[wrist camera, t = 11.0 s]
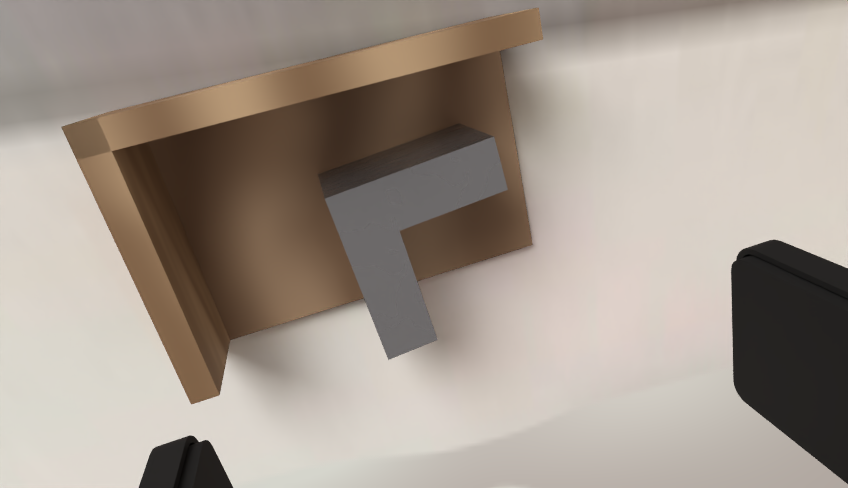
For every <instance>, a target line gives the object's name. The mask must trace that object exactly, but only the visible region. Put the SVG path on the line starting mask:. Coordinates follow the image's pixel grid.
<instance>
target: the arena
mask: <svg viewBox="0 0 848 488" xmlns="http://www.w3.org/2000/svg"><path fill="white" fill-rule="evenodd" d="M539 40H543V36H542V28H541V21H540V14H539V8H534V9H529V10H523V11H518V12H513V13H508V14H503V15H498V16H493V17H488V18H484V19H480V20H476V21H472V22H468V23H464V24H460V25H456V26H452V27H448V28H444V29H440V30H436V31H432V32H428V33H424V34H420V35H416V36H412V37H408V38H404V39H400V40H396V41H392V42H388V43H384V44H380V45H376V46H372V47H368V48H364V49H360V50H356V51H352V52H348V53H344V54H340V55H336V56H331V57H327V58H323V59H319V60H315V61H311V62H307V63H303V64H299V65H295V66H291V67H287V68H283V69H279V70H275V71H271V72H267V73H263V74H259V75H255V76H251V77H247V78H243V79H239V80H235V81H231V82H227V83H223V84H219V85H215V86H211V87H207V88H203V89H199V90H195V91H191V92H187V93H183V94H179V95H175V96H171V97H167V98H163V99H159V100H155V101H151V102H147V103H143V104H139V105H135V106H131V107H127V108H123V109H119V110H115V111H111V112H107V113H104V114H101V115H98V116H94V117H91V118H88V119H85V120H82V121H78V122H75V123H72V124H69V125H66V126H63V127H62V130H63V132H64V134H65V136H66V138H67V140H68V142H69V144H70V147H71V149H72V151H73V153H74V155H75V157H76V159H77V162H78V164H79V166H80V168H81V170H82V172H83V174H84V176H85V179H86V181H87V183H88V185H89V187H90V189H91V191H92V194H93V196H94V198H95V200H96V202H97V204H98V206H99V209H100V211H101V213H102V215H103V217H104V219H105V221H106V223H107V226H108V228H109V230H110V232H111V234H112V236H113V238H114V241H115V243H116V245H117V247H118V249H119V251H120V253H121V255H122V258H123V260H124V262H125V264H126V266H127V268H128V270H129V273H130V275H131V277H132V279H133V281H134V283H135V285H136V287H137V290H138V292H139V294H140V296H141V298H142V300H143V302H144V305H145V307H146V309H147V311H148V313H149V315H150V317H151V319H152V322H153V324H154V326H155V328H156V330H157V332H158V334H159V337H160V339H161V341H162V343H163V345H164V347H165V349H166V351H167V354H168V356H169V358H170V360H171V362H172V364H173V366H174V369H175V371H176V373H177V375H178V377H179V379H180V381H181V384H182V386H183V388H184V390H185V392H186V394H187V396H188V398H189V401H190V403H191V404H194V403H197V402H200V401H203V400H206V399H209V398H212V397H215V396H219V395H220V390H221V385H222V380H223V375H224V369H225V364H226V359H227V354H228V348H229V343H230V340H232V339H235V338H238V337H241V336H245V335H248V334H251V333H254V332H257V331H260V330H264V329H267V328H270V327H273V326H276V325H280V324H283V323H286V322H289V321H292V320H295V319H299V318H302V317H305V316H308V315H311V314H314V313H318V312H321V311H324V310H327V309H330V308H333V307H337V306H340V305H343V304H346V303H349V302H352V301H356V300H359V299H362V298H364V297H363V294H362V292H361V289H360V287H359V284H358V282H357V279H356V276H355V274H354V271H353V269H352V266H351V264H350V261H349V259H348V256H347V254H346V251H345V249H344V246H343V244H342V241H341V239H340V236H339V234H338V231H337V228H336V226H335V223H334V221H333V218H332V216H331V213H330V211H329V208H328V206H327V203H326V201H325V198H324V194H323V191H322V187H321V184H320V180H319V177H318V174H320V173H323V172H325V171H328V170H331V169H334V168H336V167H339V166H342V165H345V164H347V163H350V162H353V161H356V160H359V159H361V158H364V157H367V156H370V155H372V154H375V153H378V152H381V151H383V150H386V149H389V148H392V147H395V146H397V145H400V144H403V143H406V142H408V141H411V140H414V139H417V138H419V137H422V136H425V135H428V134H430V133H433V132H436V131H439V130H442V129H444V128H447V127H450V126H453V125H455V124H458V123H460V124H462V125H465V126H468V127H470V128H473V129H476V130H478V131H481V132H484V133H486V134H489V135H491V136H494V138H495V142H496V146H497V150H498V153H499V157H500V161H501V165H502V169H503V173H504V177H505V180H506V184H507V188H508V190H506V191H503V192H500V193H498V194H495V195H493V196H490V197H487V198H485V199H482V200H479V201H477V202H474V203H472V204H469V205H466V206H464V207H461V208H458V209H456V210H453V211H451V212H448V213H445V214H443V215H440V216H437V217H435V218H432V219H429V220H427V221H424V222H422V223H419V224H416V225H414V226H411V227H408V228H406V229H403V230H401V231H400V234H401V237H402V240H403V242H404V245H405V248H406V251H407V254H408V257H409V260H410V262H411V265H412V268H413V271H414V274H415V277H416V280H417V281H419V280H422V279H425V278H429V277H432V276H435V275H438V274H441V273H444V272H448V271H451V270H454V269H457V268H460V267H464V266H467V265H470V264H473V263H476V262H479V261H483V260H486V259H489V258H492V257H495V256H498V255H502V254H505V253H508V252H511V251H514V250H517V249H521V248H524V247H527V246H530V245H532V239H531V233H530V227H529V221H528V215H527V209H526V203H525V197H524V191H523V185H522V179H521V173H520V167H519V162H518V156H517V150H516V144H515V138H514V132H513V126H512V120H511V114H510V108H509V102H508V96H507V90H506V84H505V78H504V72H503V66H502V60H501V54H500V50H504V49H508V48H512V47H516V46H519V45H523V44H527V43H531V42H535V41H539Z"/></svg>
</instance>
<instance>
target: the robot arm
mask: <svg viewBox="0 0 848 488" xmlns="http://www.w3.org/2000/svg"><path fill="white" fill-rule="evenodd" d="M731 281H732V329H733V372H734V373H733V375H734V376H733V377H734V386H735V388H736V391H737V393H738V394H739V396H740V397H741V398H742V400H743V401H744V402H746V403H747V404H748V405H749V406H750V407H752V408H753V409H754V410H756V411H757V412H758V413H759V414H760V415H762V416H763V417H764V418H766V419H767V420H768V421H769V422H771V423H772V424H773V425H774V426H776V427H777V428H778V429H779V430H781V431H782V432H783V433H784V434H786V435H787V436H788V437H789V438H791V439H792V440H793V441H795V442H796V443H797V444H798V445H799V446H801V447H802V448H803V449H805V450H806V451H807V452H808V453H810V454H811V455H812V456H813V457H815V458H816V459H817V460H818V461H820V462H821V463H822V464H823V465H825V466H826V467H827V468H828V469H830V470H831V471H832V472H833V473H835V474H836V475H837V476H838V477H840V478H841V479H842V480H843V481H845V482H846V483H847V484H848V268H845V267H843V266H840V265H838V264H835V263H833V262H831V261H828V260H826V259H823V258H821V257H818V256H816V255H813V254H811V253H809V252H806V251H804V250H801V249H799V248H796V247H794V246H791V245H789V244H786V243H784V242H782V241H778V240H769V241H766V242H763V243H760V244H757V245H754V246H751V247H748V248H745V249H743V250H742V251H740V252H739V254H738V256H737V260H736V261H735V262H733V264H732V268H731ZM139 488H233V486H232V484H231V482H230V480H229V478H228V476H227V474H226V472H225V470H224V468H223V466H222V464H221V462H220V460H219V458H218V456H217V454H216V452H215V450H214V448H213V446H212V445H211V443H210V442H209V441H208V440H204V441H202V442H198V440H197V439H196V438H195V437H194V436H187V437H184V438H181V439H178V440H175V441H172V442H169V443H166V444H163V445H161V446H158V447H155V448H154V449H153V450H152V452H151V453H150V456H149V459H148V462H147V465H146V468H145V471H144V474H143V477H142V480H141V482H140V485H139Z"/></svg>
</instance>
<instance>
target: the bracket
mask: <svg viewBox="0 0 848 488" xmlns="http://www.w3.org/2000/svg"><path fill="white" fill-rule="evenodd" d="M318 177H319V180H320V184H321V187H322V191H323V194H324V198H325V201H326V203H327V206H328V208H329V211H330V213H331V216H332V218H333V221H334V223H335V226H336V228H337V231H338V234H339V236H340V239H341V241H342V244H343V246H344V249H345V251H346V254H347V256H348V259H349V261H350V264H351V266H352V269H353V271H354V274H355V276H356V279H357V282H358V284H359V287H360V289H361V292H362V294H363V297H364V299H365V302H366V304H367V307H368V309H369V312H370V314H371V317H372V319H373V322H374V324H375V327H376V330H377V332H378V335H379V337H380V340H381V342H382V345H383V347H384V350H385V352H386V355H387V357H388V360H389V359H392V358H394V357H396V356H399V355H401V354H404V353H406V352H409V351H411V350H414V349H416V348H419V347H421V346H423V345H426V344H428V343H431V342H433V341H436V340H437V337H436V334H435V331H434V328H433V325H432V323H431V320H430V317H429V314H428V311H427V308H426V305H425V303H424V300H423V297H422V294H421V291H420V288H419V285H418V282H417V280H416V277H415V274H414V271H413V268H412V265H411V262H410V260H409V257H408V254H407V251H406V248H405V245H404V242H403V240H402V237H401V234H400V231H401V230H403V229H406V228H408V227H411V226H414V225H416V224H419V223H422V222H424V221H427V220H429V219H432V218H435V217H437V216H440V215H443V214H445V213H448V212H451V211H453V210H456V209H458V208H461V207H464V206H466V205H469V204H472V203H474V202H477V201H479V200H482V199H485V198H487V197H490V196H493V195H495V194H498V193H500V192H503V191H506V190H508V188H507V184H506V180H505V177H504V173H503V169H502V165H501V161H500V157H499V153H498V150H497V146H496V142H495V138H494V136H491V135H489V134H486V133H484V132H481V131H478V130H476V129H473V128H470V127H468V126H465V125H462V124H460V123H458V124H455V125H453V126H450V127H447V128H444V129H442V130H439V131H436V132H433V133H430V134H428V135H425V136H422V137H419V138H417V139H414V140H411V141H408V142H406V143H403V144H400V145H397V146H395V147H392V148H389V149H386V150H383V151H381V152H378V153H375V154H372V155H370V156H367V157H364V158H361V159H359V160H356V161H353V162H350V163H347V164H345V165H342V166H339V167H336V168H334V169H331V170H328V171H325V172H323V173H320V174H318Z"/></svg>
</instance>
